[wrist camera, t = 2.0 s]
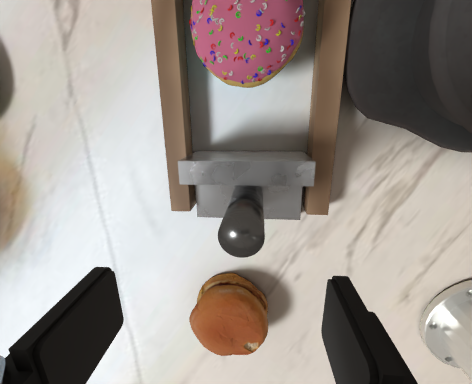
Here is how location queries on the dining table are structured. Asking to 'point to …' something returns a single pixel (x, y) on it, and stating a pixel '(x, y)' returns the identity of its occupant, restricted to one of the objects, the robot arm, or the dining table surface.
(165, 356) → the dining table surface
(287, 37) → the cupcake
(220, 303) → the burger
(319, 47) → the press bed
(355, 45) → the casserole
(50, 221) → the dining table surface
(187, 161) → the ram
